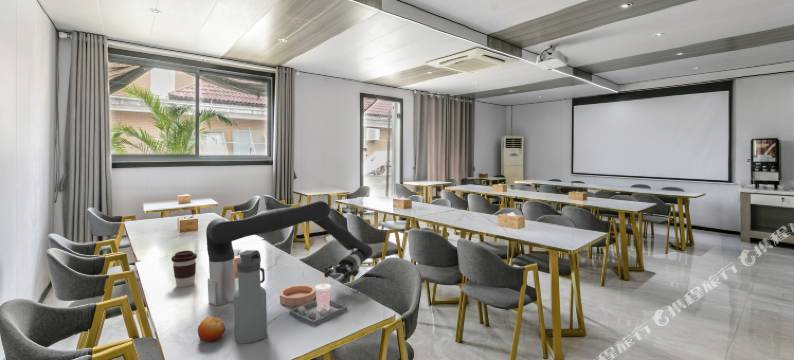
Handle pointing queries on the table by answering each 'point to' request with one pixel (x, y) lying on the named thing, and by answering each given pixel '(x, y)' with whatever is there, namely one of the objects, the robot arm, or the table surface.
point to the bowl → (297, 295)
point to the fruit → (211, 329)
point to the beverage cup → (323, 295)
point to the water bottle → (250, 299)
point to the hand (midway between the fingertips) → (335, 275)
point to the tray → (321, 319)
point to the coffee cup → (184, 268)
